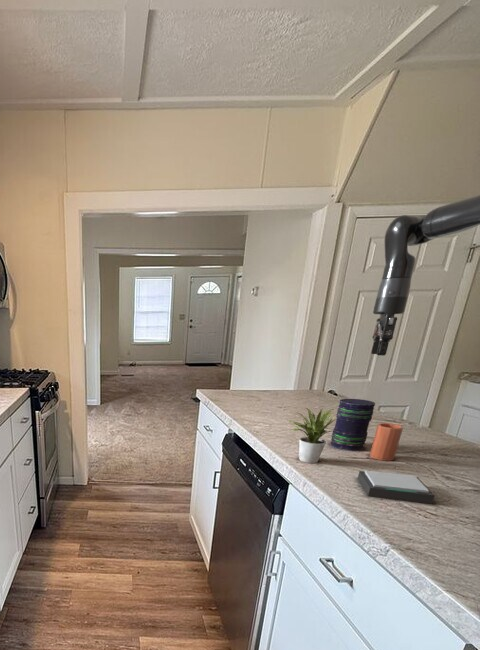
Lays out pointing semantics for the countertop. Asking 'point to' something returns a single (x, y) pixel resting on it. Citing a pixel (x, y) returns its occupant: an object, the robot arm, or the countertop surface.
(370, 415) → the storage jar
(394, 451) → the cup
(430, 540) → the countertop surface
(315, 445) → the house plant
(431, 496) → the scale
